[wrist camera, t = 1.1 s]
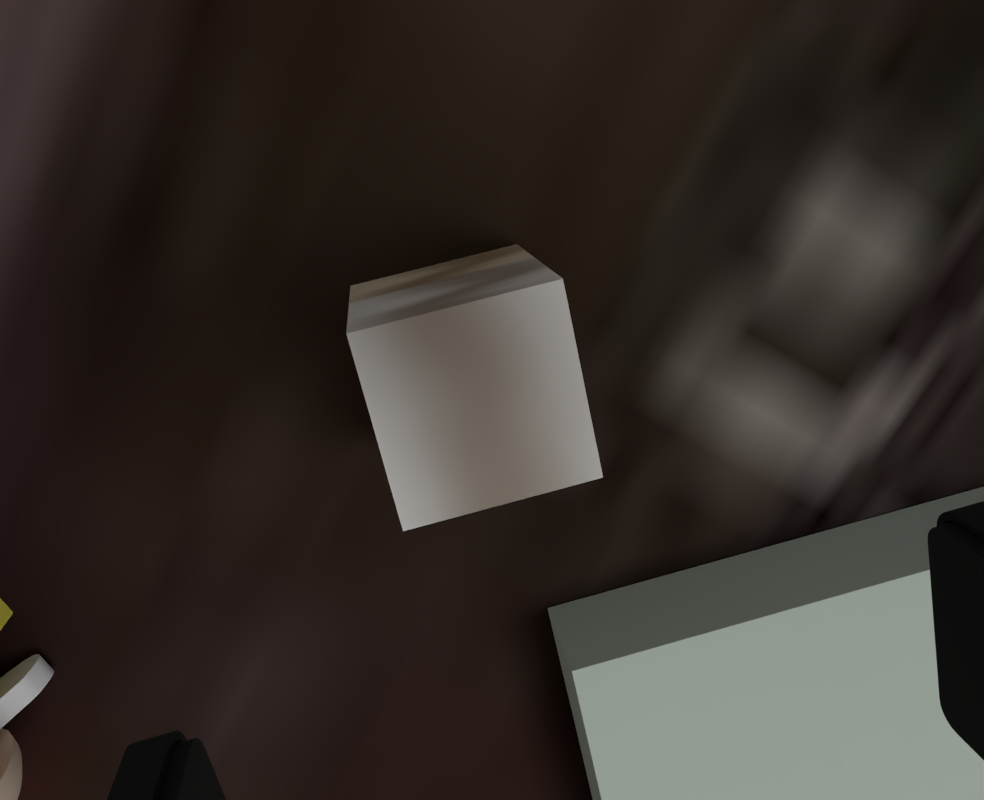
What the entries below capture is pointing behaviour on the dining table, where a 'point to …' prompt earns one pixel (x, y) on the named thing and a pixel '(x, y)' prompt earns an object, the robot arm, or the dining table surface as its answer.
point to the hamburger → (16, 711)
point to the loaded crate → (472, 384)
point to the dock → (772, 674)
